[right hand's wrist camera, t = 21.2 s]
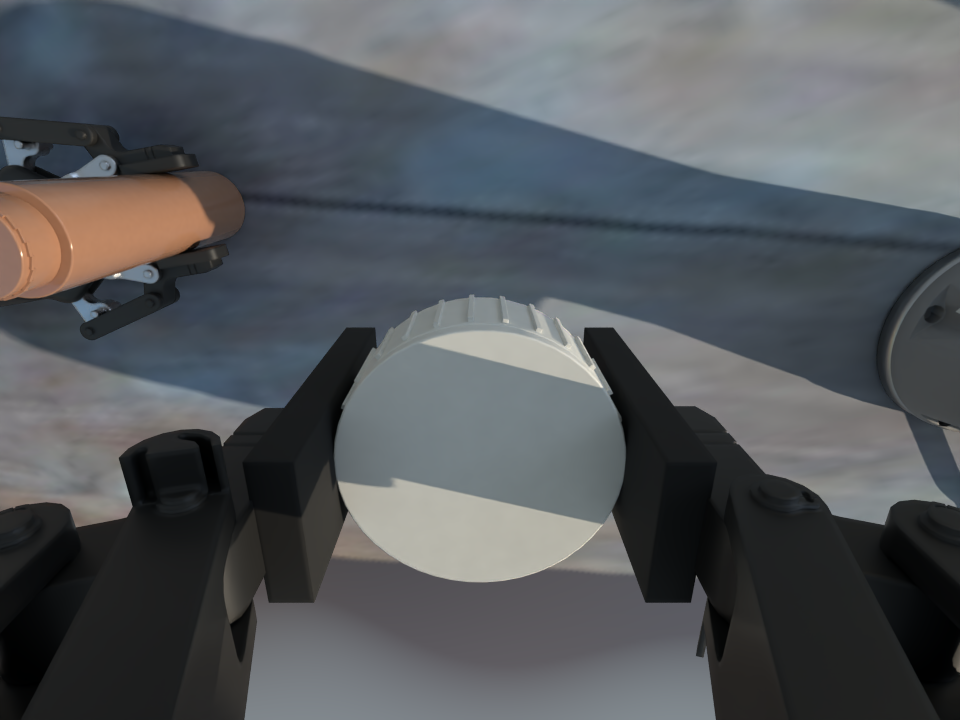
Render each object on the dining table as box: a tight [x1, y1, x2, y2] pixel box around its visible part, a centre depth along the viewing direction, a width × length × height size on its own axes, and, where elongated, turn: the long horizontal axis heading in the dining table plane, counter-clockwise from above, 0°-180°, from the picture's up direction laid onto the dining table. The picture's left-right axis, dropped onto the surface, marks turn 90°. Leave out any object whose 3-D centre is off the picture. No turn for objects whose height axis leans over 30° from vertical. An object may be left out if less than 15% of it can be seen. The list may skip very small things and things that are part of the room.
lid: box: [334, 295, 626, 582], centre depth 11 cm, size 6×6×2 cm
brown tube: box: [0, 171, 245, 301], centre depth 29 cm, size 5×5×19 cm
